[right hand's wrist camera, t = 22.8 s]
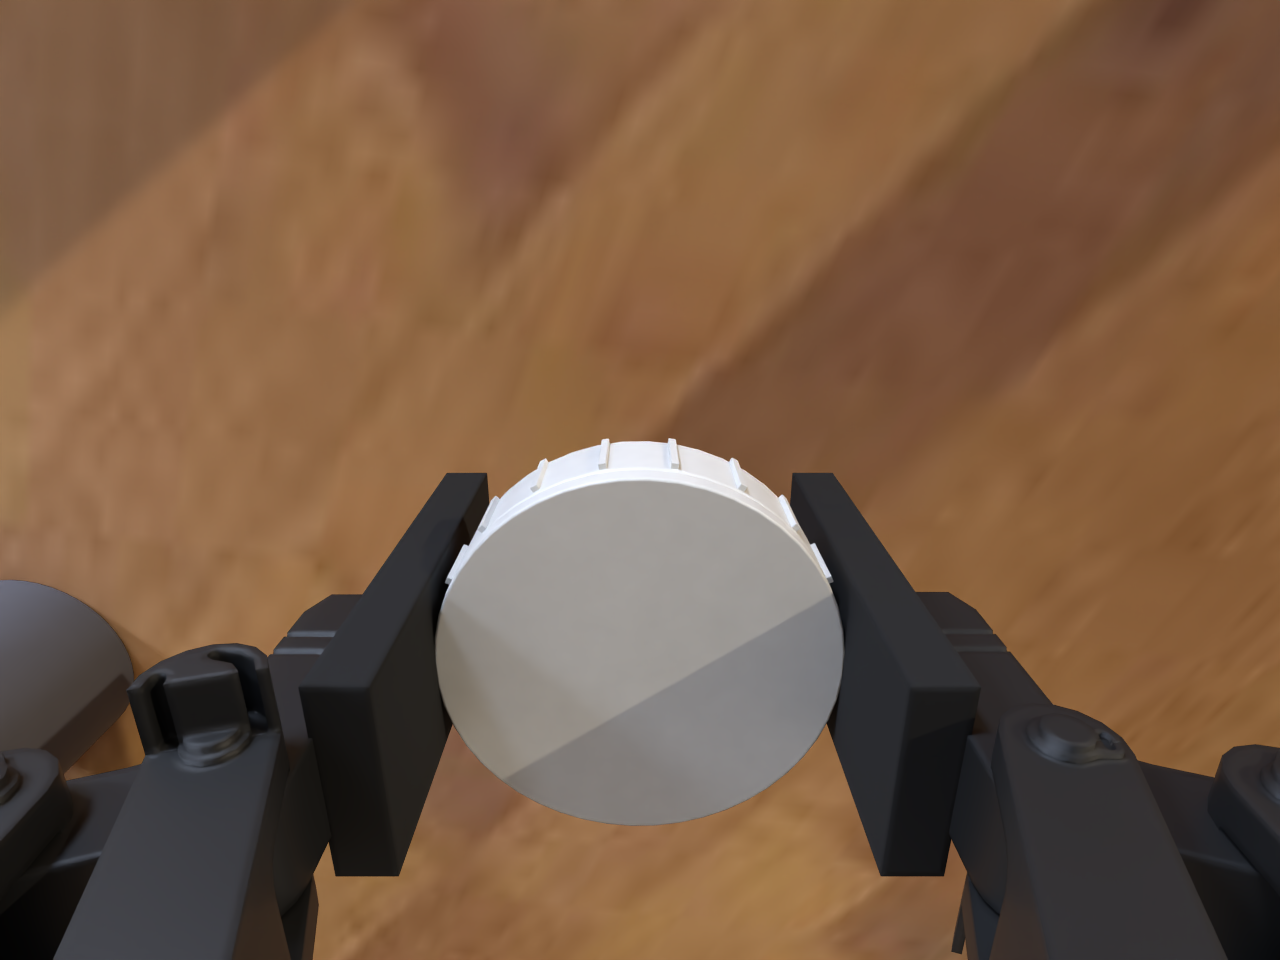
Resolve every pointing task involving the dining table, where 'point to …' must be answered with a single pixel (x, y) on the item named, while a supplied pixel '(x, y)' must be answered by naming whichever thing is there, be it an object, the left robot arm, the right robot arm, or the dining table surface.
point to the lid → (639, 636)
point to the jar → (57, 672)
